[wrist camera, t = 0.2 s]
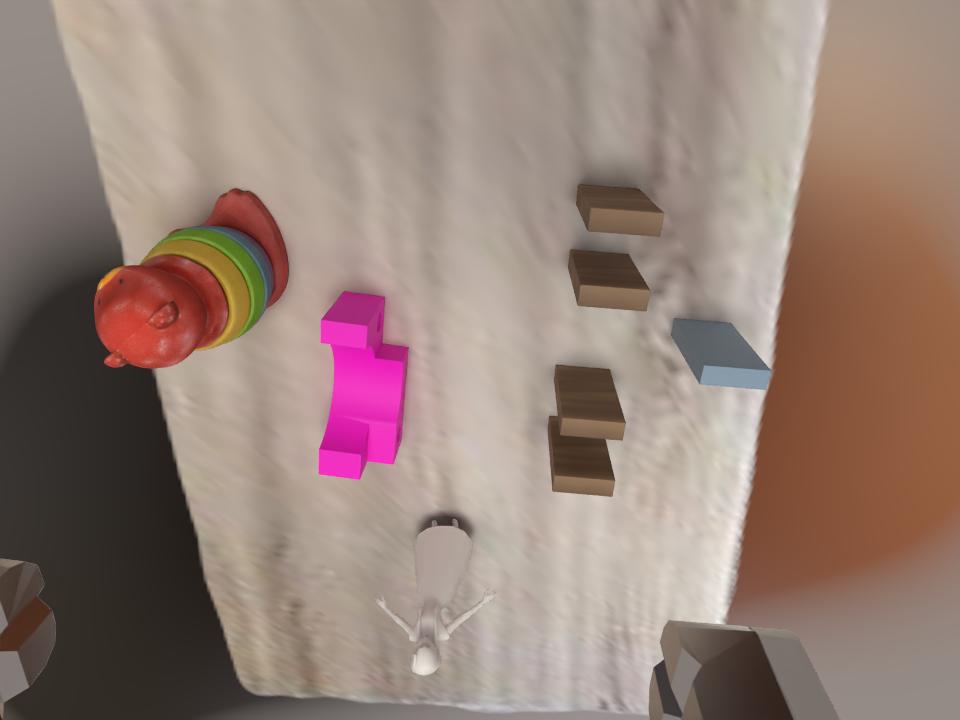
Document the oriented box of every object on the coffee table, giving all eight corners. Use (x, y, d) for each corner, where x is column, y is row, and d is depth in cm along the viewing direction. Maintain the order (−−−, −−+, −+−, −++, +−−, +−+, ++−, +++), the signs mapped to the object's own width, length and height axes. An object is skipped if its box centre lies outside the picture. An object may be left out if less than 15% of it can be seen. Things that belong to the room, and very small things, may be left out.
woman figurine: (497, 506, 66) (489, 648, 50) (502, 540, 68) (496, 688, 51) (389, 514, 67) (347, 655, 51) (396, 547, 69) (358, 694, 53)
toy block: (401, 439, 64) (387, 483, 57) (340, 431, 64) (318, 474, 57) (412, 299, 57) (398, 330, 51) (344, 290, 57) (321, 319, 51)
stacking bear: (245, 178, 54) (125, 223, 37) (318, 276, 57) (238, 357, 41) (155, 244, 56) (8, 313, 40) (230, 334, 60) (122, 431, 43)
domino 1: (578, 184, 52) (591, 207, 43) (639, 189, 52) (664, 213, 43) (576, 204, 53) (587, 231, 44) (635, 208, 53) (660, 236, 44)
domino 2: (570, 249, 54) (580, 284, 45) (628, 254, 54) (650, 290, 45) (568, 267, 55) (577, 305, 46) (625, 272, 55) (646, 311, 46)
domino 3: (556, 364, 59) (562, 417, 50) (609, 369, 59) (625, 423, 50) (554, 380, 60) (560, 435, 51) (606, 384, 60) (622, 440, 50)
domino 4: (549, 416, 61) (554, 475, 52) (601, 420, 61) (615, 480, 52) (547, 430, 62) (552, 491, 53) (598, 434, 62) (612, 496, 53)
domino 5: (674, 318, 56) (704, 365, 47) (730, 322, 56) (771, 370, 47) (671, 335, 57) (699, 384, 48) (726, 339, 57) (765, 389, 48)
